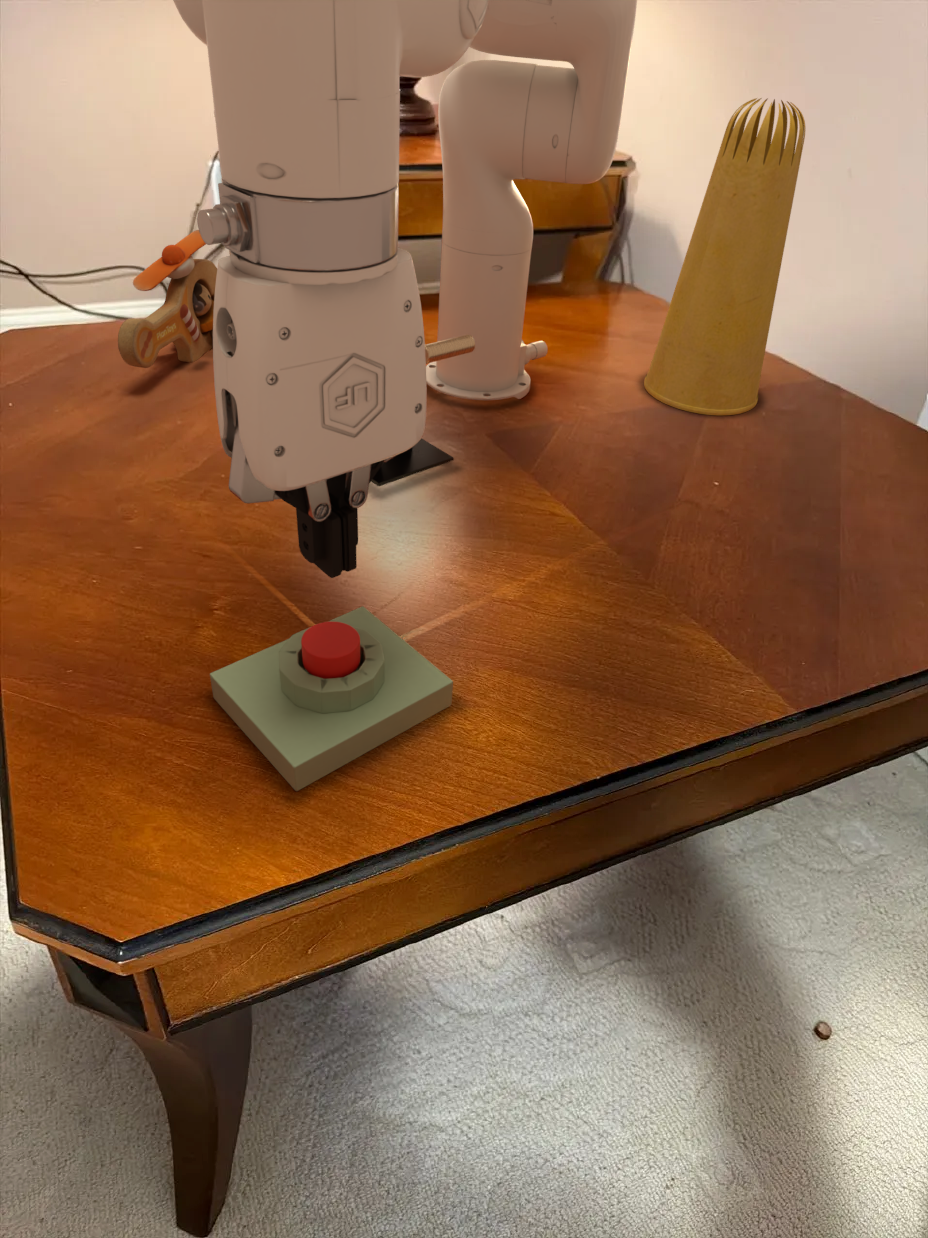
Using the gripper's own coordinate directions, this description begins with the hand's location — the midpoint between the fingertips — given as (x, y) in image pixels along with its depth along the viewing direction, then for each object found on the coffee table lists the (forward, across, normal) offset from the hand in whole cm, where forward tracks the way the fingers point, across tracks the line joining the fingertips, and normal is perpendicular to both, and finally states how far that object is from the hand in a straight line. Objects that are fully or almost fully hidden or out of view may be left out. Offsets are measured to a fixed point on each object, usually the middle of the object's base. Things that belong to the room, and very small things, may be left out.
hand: (329, 562), depth 49 cm
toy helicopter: (+12, +18, +56) cm, 60 cm away
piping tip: (+12, +64, +18) cm, 68 cm away
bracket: (+11, +23, +26) cm, 36 cm away
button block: (+11, 0, 0) cm, 11 cm away
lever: (+1, +23, +21) cm, 31 cm away
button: (+7, 0, 0) cm, 7 cm away
